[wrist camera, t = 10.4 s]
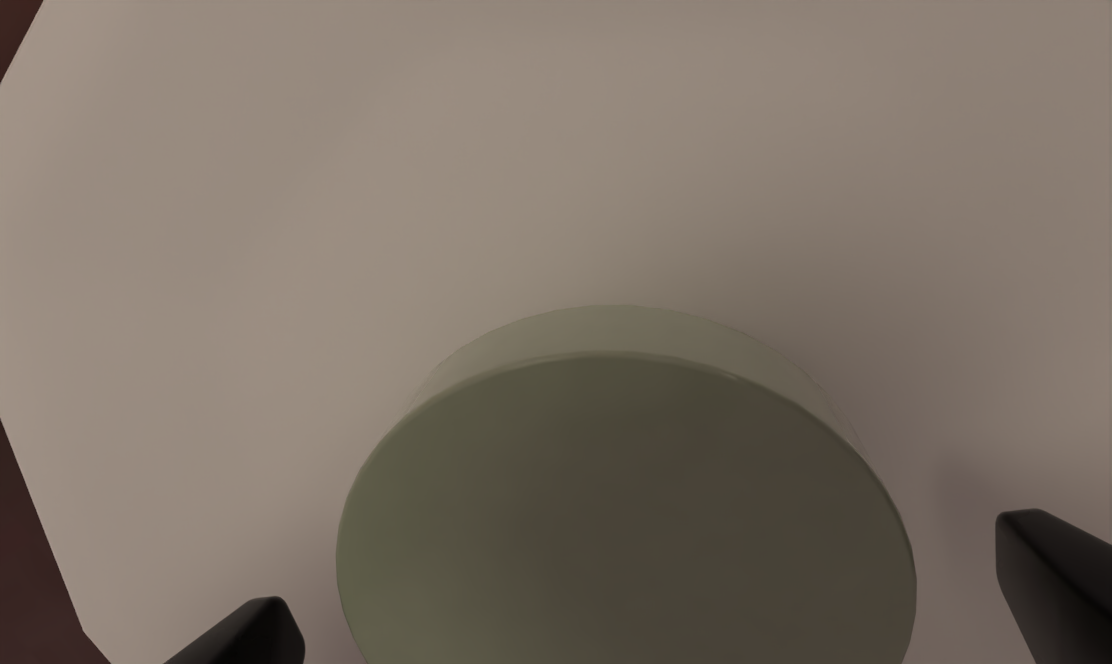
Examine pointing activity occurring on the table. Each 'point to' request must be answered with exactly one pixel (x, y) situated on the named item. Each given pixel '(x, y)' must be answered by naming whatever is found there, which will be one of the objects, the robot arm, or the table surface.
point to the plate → (537, 260)
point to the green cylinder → (622, 507)
